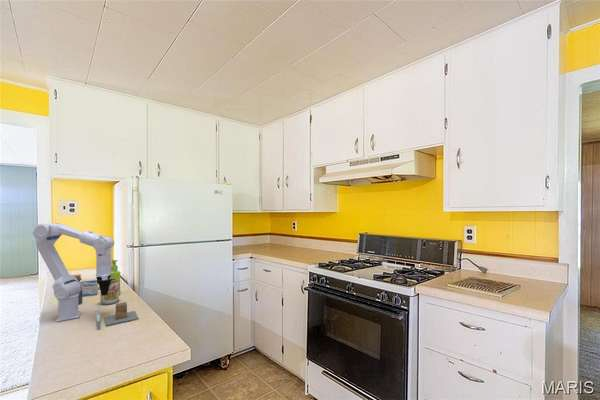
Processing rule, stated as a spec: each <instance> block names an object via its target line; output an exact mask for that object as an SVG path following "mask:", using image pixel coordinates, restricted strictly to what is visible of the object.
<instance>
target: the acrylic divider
mask: <svg viewBox="0 0 600 400" xmlns="http://www.w3.org/2000/svg"><path fill="white" fill-rule="evenodd" d="M95 322H96V330H97V331H99V330H101V316H100V310H99V309H97V310H96V311H95Z"/></svg>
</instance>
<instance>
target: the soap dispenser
mask: <svg viewBox="0 0 600 400" xmlns="http://www.w3.org/2000/svg"><path fill="white" fill-rule="evenodd" d="M117 262H118V260H117V259H111V272H114V274H111V276H110V278H109V279H112V278H116V279H117V282H118V283H119V296H120V295H121V271H120V270H119V271H118V269H119V268H118V264H117Z"/></svg>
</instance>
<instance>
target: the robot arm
mask: <svg viewBox="0 0 600 400" xmlns="http://www.w3.org/2000/svg"><path fill="white" fill-rule="evenodd" d="M32 235H33V237H34V239H35V242H36V243H35V244H36V245H35V246H36V249H37V251H38V252H39V254H40V256H41V257H42V259H43V261H44V263H45V265H46V267H47V269H48V270H49V272H50V274H51V276H52V278H53V280H54V282H53V284H52V290H53V295H54V297H55V298H56V300H57V303H58V305H57V308H58V309H57V317H56V319H55V320H56V323H57V322H62V321H68V320H72V319H73V320H74V319H78V318H79V319H80V314H81V313H80V310H79V305H78V295H79V293H80V292H81V290H82V284H81V281H80V282H79V281H78V280H77V279H76V277H74V276H72V275H73V274H70V273H69V271H68V268H67V266H66V265H65V263H64V262H63V259H62V258H61V256H60V254H59V252H58V251H57V249H56V247H55V244H56V242H57V241H58V240H59V239H60V238H61V237H62V236H63V235H64V236H65V237H70V238H74V239H77V240H79V243H81V244H84V245H86V246H90V247H93V249H94V250H95V253H96V254H95V255H96V256H95V257H96V262H95V263H96V264H95V265H96V270H95V271H96V273H95V279H97V283H98V287H100V290H99V291H100V296H101V295H102V296H104V295H107V294H108V289H109V285H110V283H111V281H112V279H109V278H110V276H111V274H114V272H111V266H112V262H111V260H112V248H113V247H114V245H115V241H114V239H113V238H112V237H110V236H108V235H107V236H104V235H103V234H97V233H95V232H94V231H93V230H86V231H84V232H83V231H81V230H78V229H76V228H73V227H71V226H68V225H66V224H65V223H60V222H54V223H40V224H37V225H36V227H35V228H34V229H33V232H32Z"/></svg>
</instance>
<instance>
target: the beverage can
mask: <svg viewBox="0 0 600 400" xmlns="http://www.w3.org/2000/svg"><path fill="white" fill-rule="evenodd" d="M98 291H100V287H99V286H98ZM119 300H120V295H119V283H118V282H117V279H116V278H112V281H111V283H110V285H109V289H108V294H107V295H104V296H102V295H101V294H100V304H101V305H102V306H109V305H115V304H117V303H119Z"/></svg>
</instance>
